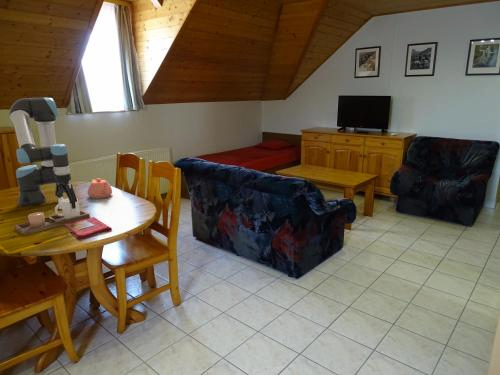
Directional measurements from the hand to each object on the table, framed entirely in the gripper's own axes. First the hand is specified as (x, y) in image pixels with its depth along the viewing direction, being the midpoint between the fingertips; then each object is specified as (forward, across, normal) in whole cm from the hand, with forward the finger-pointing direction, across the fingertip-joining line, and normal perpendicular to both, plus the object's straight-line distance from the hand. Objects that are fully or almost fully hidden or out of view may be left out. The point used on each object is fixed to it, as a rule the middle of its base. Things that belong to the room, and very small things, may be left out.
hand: (68, 211), depth 198 cm
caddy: (+5, 0, -8) cm, 10 cm away
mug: (+4, -1, 0) cm, 4 cm away
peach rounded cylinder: (+4, 0, -16) cm, 17 cm away
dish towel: (+6, +19, 0) cm, 20 cm away
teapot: (+6, -27, +34) cm, 44 cm away
